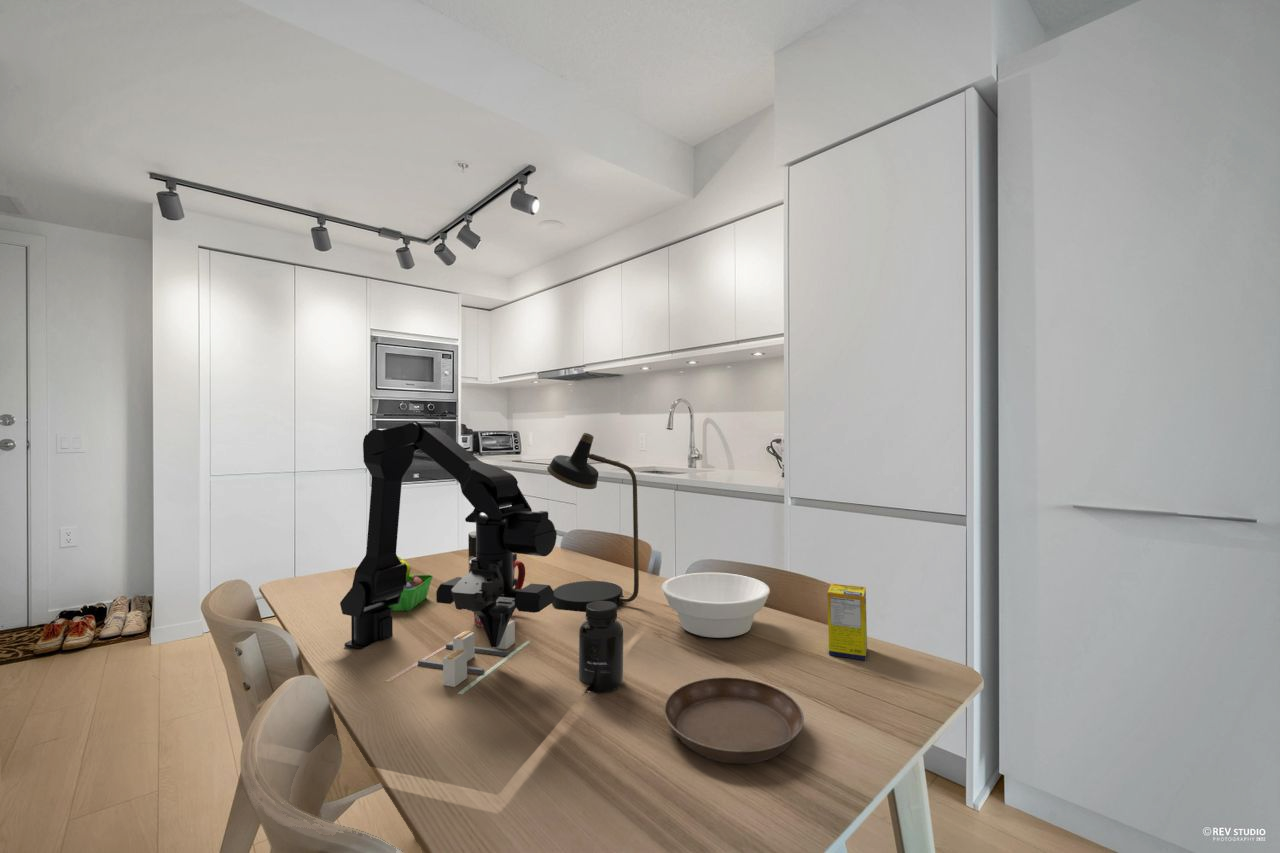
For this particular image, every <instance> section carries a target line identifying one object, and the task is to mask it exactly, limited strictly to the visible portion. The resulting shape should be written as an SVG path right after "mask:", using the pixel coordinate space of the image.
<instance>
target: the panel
mask: <svg viewBox="0 0 1280 853" xmlns="http://www.w3.org/2000/svg"><path fill="white" fill-rule="evenodd" d="M531 642H532V641H531V640H526V641H525V642H523V643H522V644H521V645H520V646H518V647H517V648H516V649H514V650H512V651H511V652H510V653H509V650H505V649H498V648H495V649H494V648H488V647H481V646H475V653H478V654H479V653H480V654H487V655H493V656H494V655H495V656H502V657H504V658H502V659H501V660H499V662H497V663H496V664H494V665H492V667H490V668H489V669H488V670H486V671H485V668H482V667H476V666H475V667H474V666H469V665H467V674H468V673H469V674H476V675H480V676H478V677H477V678H476V679H475V680H473V681H472V682H470V683H469V684H468V685H466V686H465V687H464V688H463V689H461V690H460V691H459V692H457V694H458V695H459V694H460V695H463V694H465V693H466V692H467V691H469V690H470V689H471V688H473V687H474V686H476V685H477V684H478V683H479V682H481V680H483V679H485V678H486V677H487V676H489V675H490V674H491V673H492V672H493V671H495V670H496V669H497V668H498V667H500V666H501V665H502V664H504V663H505V662H506V661H508V660H509V659H510V658H511V657H512V658H513V656H515V654H517V653H518V652H519V651H521V650H522V649H524V648H525V647H526V646H528V644H530V643H531ZM445 649H447V650H449V649H451V650H453V640H451V641H450V642H447V643H446V644H445V645H443V646H441V647H440V648H438V649H436V650H435V651H433V652H431V653H430V654H428V655H426V656H424V657H422V658H421V659H419V660H417V661H416V662H414V663H413V664H411V665H409V666H407V667H406V668H405V669H402V670H401V671H400V672H397V673H395V675H393V676H391V677H389V678H388V679H386V680H384V682H385V683H390V682H392V681H393V680H395V679H396V678H398V677H401V676H402V675H403V674H405V673H407V672H408V671H410V670H412V669H413V668H415V667H416V666H422V667H429V668H433V669H434V668H435V669H442V670H443V662H438V661H434V660H428V659H430V658H431V657H433V656H435V655H436V654H439V653H440V652H442V651H443V650H445Z"/></svg>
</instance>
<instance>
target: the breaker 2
mask: <svg viewBox="0 0 1280 853" xmlns="http://www.w3.org/2000/svg"><path fill="white" fill-rule="evenodd" d="M515 643H516V620H513V618H512V619H510V620H509V622H508V625H507V627H506V630H505V632H504V634H503V637H502V639H501V642H500V644H499V646H498V647H496V648H495V649H497V650H505V651H507V649H509V648H510V647H511V646H512V645H515Z"/></svg>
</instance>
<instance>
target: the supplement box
mask: <svg viewBox="0 0 1280 853" xmlns="http://www.w3.org/2000/svg"><path fill="white" fill-rule="evenodd" d="M866 589H867V588H866V586H859V585H852V584H851V585H850V584H849V585H848V584H840V583H839V584H838V583H831V584H830V585H829V588H828V591H827V628H828V629H827V631H828V633H827V634H828V655H829V656H834V657H835V656H836V657H841V658H849V659H854V660H855V659H856V660H861V661H866V660H867V654H868V653H867V651H868V634H867V633H868V630H867V629H868V628H867V626H868V625H867V592H866Z"/></svg>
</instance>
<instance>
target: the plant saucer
mask: <svg viewBox="0 0 1280 853" xmlns="http://www.w3.org/2000/svg"><path fill="white" fill-rule="evenodd" d="M663 714H664V717H665V720H666V722H667V723H668V725H669V727H670V728H671V730H672V731H673V732H674V734H675V735H676V736H677V737H678V738H679V739H680V741H681V742H682V743H683V744H684V745H685V746H687V747H688V748H689V749H690V750H691V751H694V753H696V754H698V755H700V756H703V757H705V758H707V759H710V760H713V761H717V762H722V763H725V764H726V763H728V764H738V765H740V764H741V765H742V764H754V763H761V762H764V761H767V760H770V759H772V758H775V757H776V756H778V755H779V754H781V753H783V752H784V751H785V750H786V749H788V748H789V747H790V746H791V745H792V744H793V742H794V741H795V740H796V739H797V738H798V736H799V734H800V732H801V731H802V728H803V727H804V726H803V725H804V723H805V722H804V720H805V719H804V718H805V716H804V713H803V709H802V708H801V707H800V705H799V704H798V703H797V701H796V700H795V699H794V698H792V696H790V695H788V694H787V693H786V692H784V691H783V690H781V689H779V688H778V687H775V686H772V685H769V684H767V683H763V682H759V681H757V680H753V679H747V678H739V677H725V676H724V677H710V678H705V679H700V680H699V679H698V680H694V681H692V682H689V683H687V684H684V685H682V686H681V687H678V688H677V689H674V691H673V692H672V693H671V694H670V695H669V696H668V697H667V699H666V701H665V703H664V707H663Z"/></svg>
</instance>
